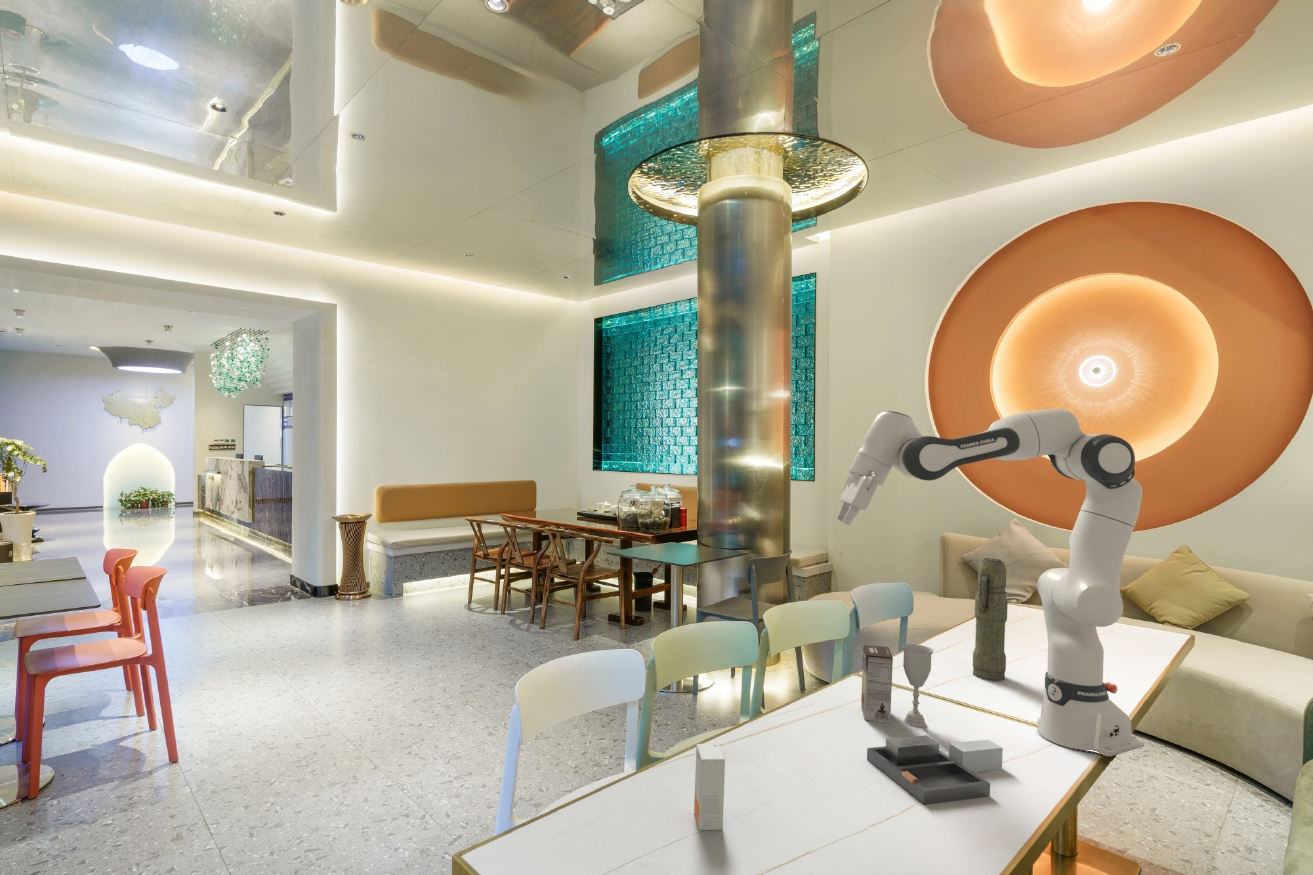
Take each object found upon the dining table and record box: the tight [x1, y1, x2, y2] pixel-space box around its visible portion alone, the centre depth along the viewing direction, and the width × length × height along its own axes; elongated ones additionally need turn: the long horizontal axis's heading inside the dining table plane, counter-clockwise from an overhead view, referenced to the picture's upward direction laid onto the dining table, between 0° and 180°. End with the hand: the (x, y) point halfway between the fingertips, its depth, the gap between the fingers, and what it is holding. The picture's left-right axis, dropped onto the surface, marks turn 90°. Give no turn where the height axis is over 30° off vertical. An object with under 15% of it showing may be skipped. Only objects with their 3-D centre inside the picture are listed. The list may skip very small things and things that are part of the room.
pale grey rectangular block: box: [948, 739, 1004, 773], centre depth 139 cm, size 10×4×4 cm, turn 106°
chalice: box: [901, 643, 935, 728], centre depth 161 cm, size 7×7×18 cm
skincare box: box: [693, 743, 726, 831], centre depth 114 cm, size 6×4×12 cm
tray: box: [866, 734, 991, 805], centre depth 133 cm, size 15×18×5 cm
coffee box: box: [860, 644, 894, 724], centre depth 164 cm, size 9×6×16 cm
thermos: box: [972, 557, 1009, 682], centre depth 199 cm, size 9×12×35 cm
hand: (842, 522), depth 162 cm, fingers open, 8 cm apart
